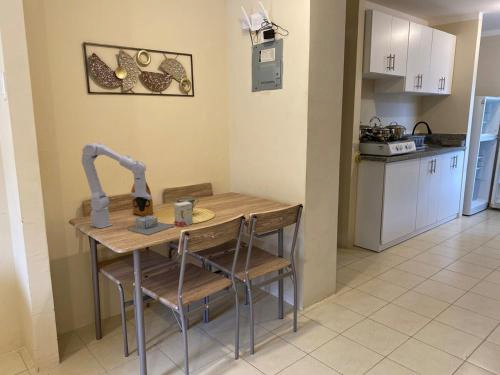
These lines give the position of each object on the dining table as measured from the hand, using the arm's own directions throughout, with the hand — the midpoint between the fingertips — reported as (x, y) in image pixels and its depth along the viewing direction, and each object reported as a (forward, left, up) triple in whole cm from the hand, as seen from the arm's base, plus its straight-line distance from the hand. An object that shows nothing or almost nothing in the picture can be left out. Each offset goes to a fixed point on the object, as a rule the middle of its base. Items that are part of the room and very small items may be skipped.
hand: (142, 211), depth 196 cm
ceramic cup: (+5, +29, -8) cm, 31 cm away
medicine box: (-1, 0, -5) cm, 5 cm away
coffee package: (-20, +16, -8) cm, 27 cm away
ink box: (+17, +13, -8) cm, 23 cm away
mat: (+8, -1, -8) cm, 11 cm away
